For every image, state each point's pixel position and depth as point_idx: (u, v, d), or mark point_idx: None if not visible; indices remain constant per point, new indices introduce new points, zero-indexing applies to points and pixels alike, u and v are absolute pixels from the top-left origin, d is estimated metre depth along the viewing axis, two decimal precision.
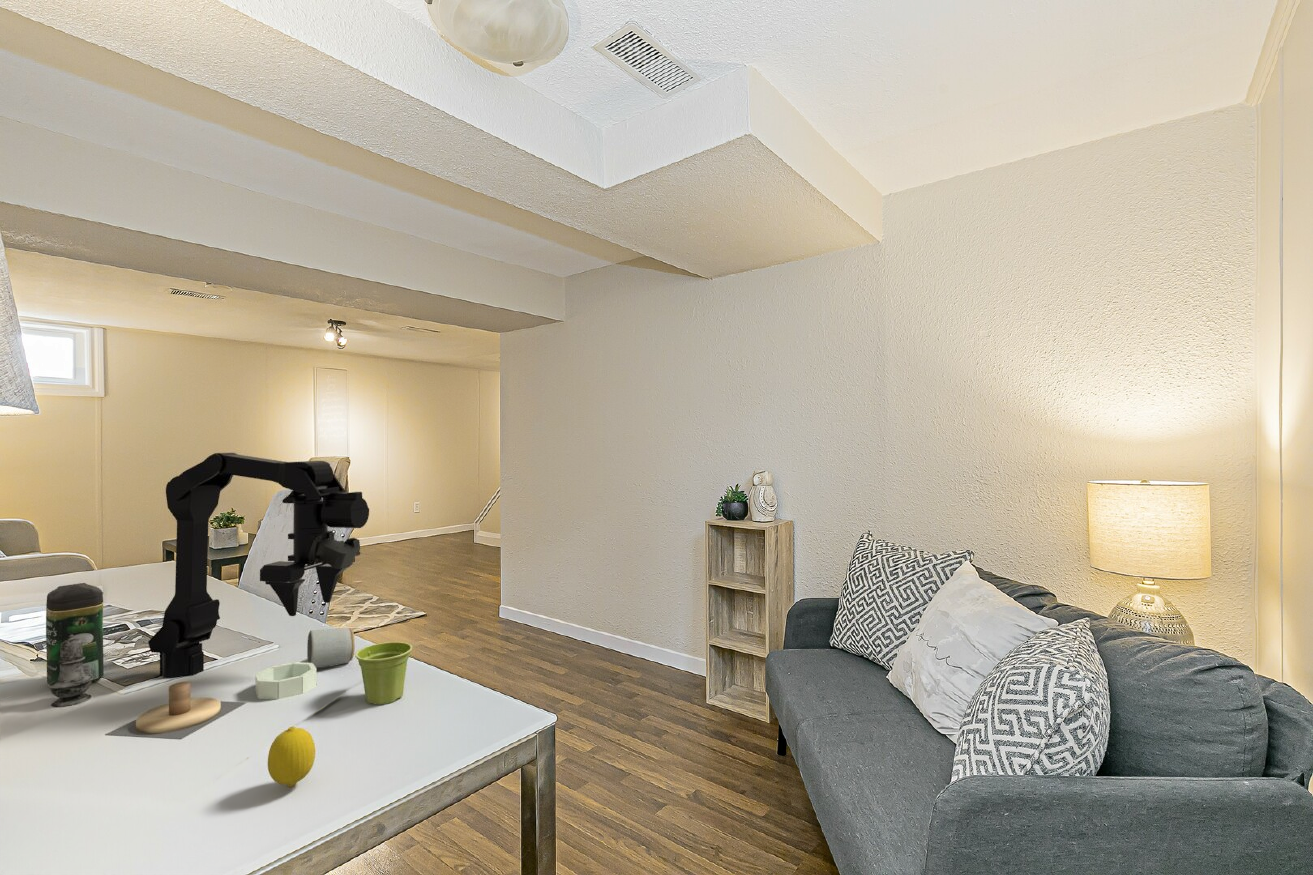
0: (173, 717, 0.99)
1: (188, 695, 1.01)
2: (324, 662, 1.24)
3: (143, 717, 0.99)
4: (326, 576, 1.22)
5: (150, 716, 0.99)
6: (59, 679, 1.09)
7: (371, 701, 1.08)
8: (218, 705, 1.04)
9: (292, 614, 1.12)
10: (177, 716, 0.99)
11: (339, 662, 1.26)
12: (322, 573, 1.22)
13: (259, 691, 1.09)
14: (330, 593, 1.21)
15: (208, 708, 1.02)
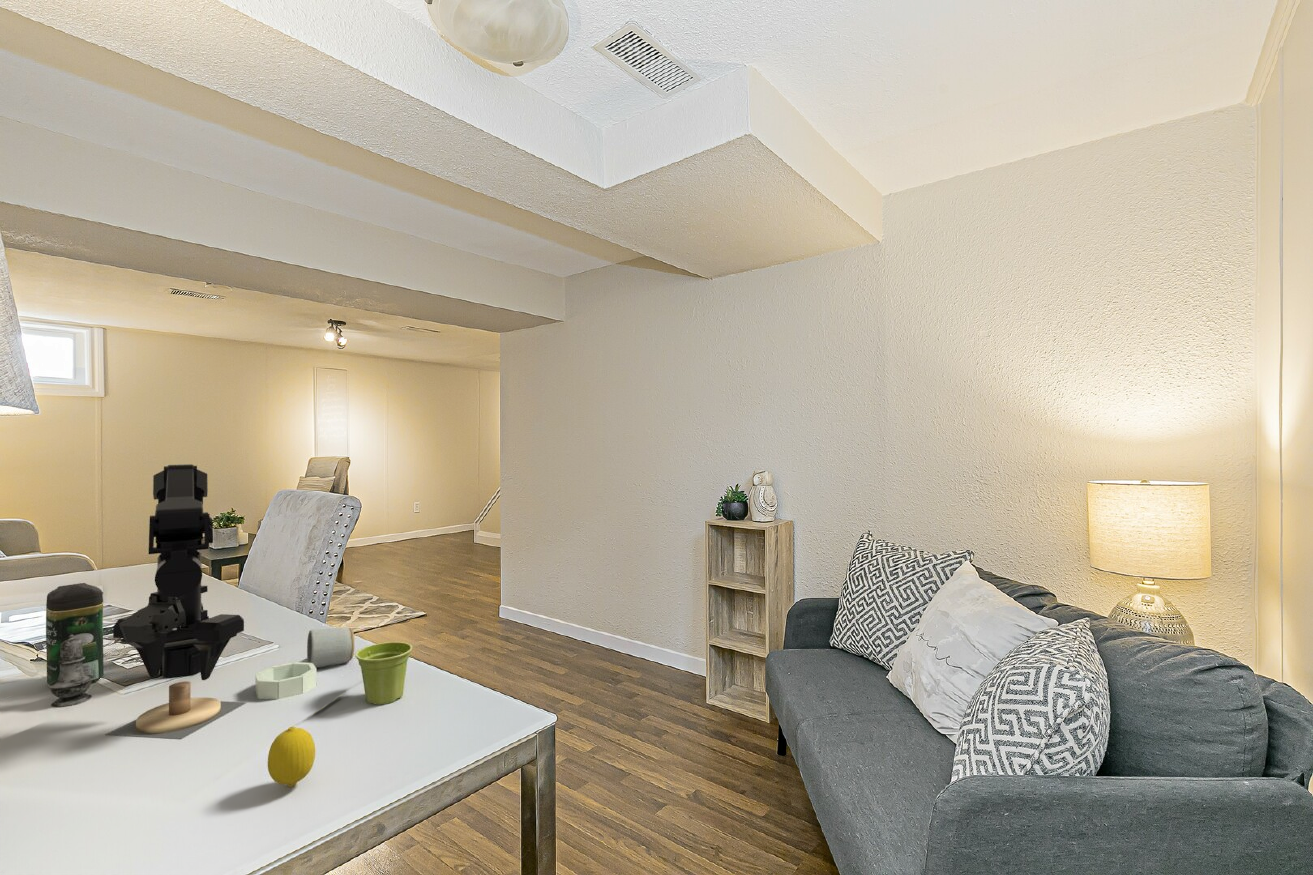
0: (173, 717, 0.99)
1: (188, 695, 1.01)
2: (324, 661, 1.24)
3: (143, 717, 0.99)
4: None
5: (150, 716, 0.99)
6: (59, 679, 1.09)
7: (371, 700, 1.08)
8: (218, 705, 1.04)
9: None
10: (177, 716, 0.99)
11: (339, 661, 1.27)
12: None
13: (259, 691, 1.09)
14: (200, 669, 1.00)
15: (208, 708, 1.02)
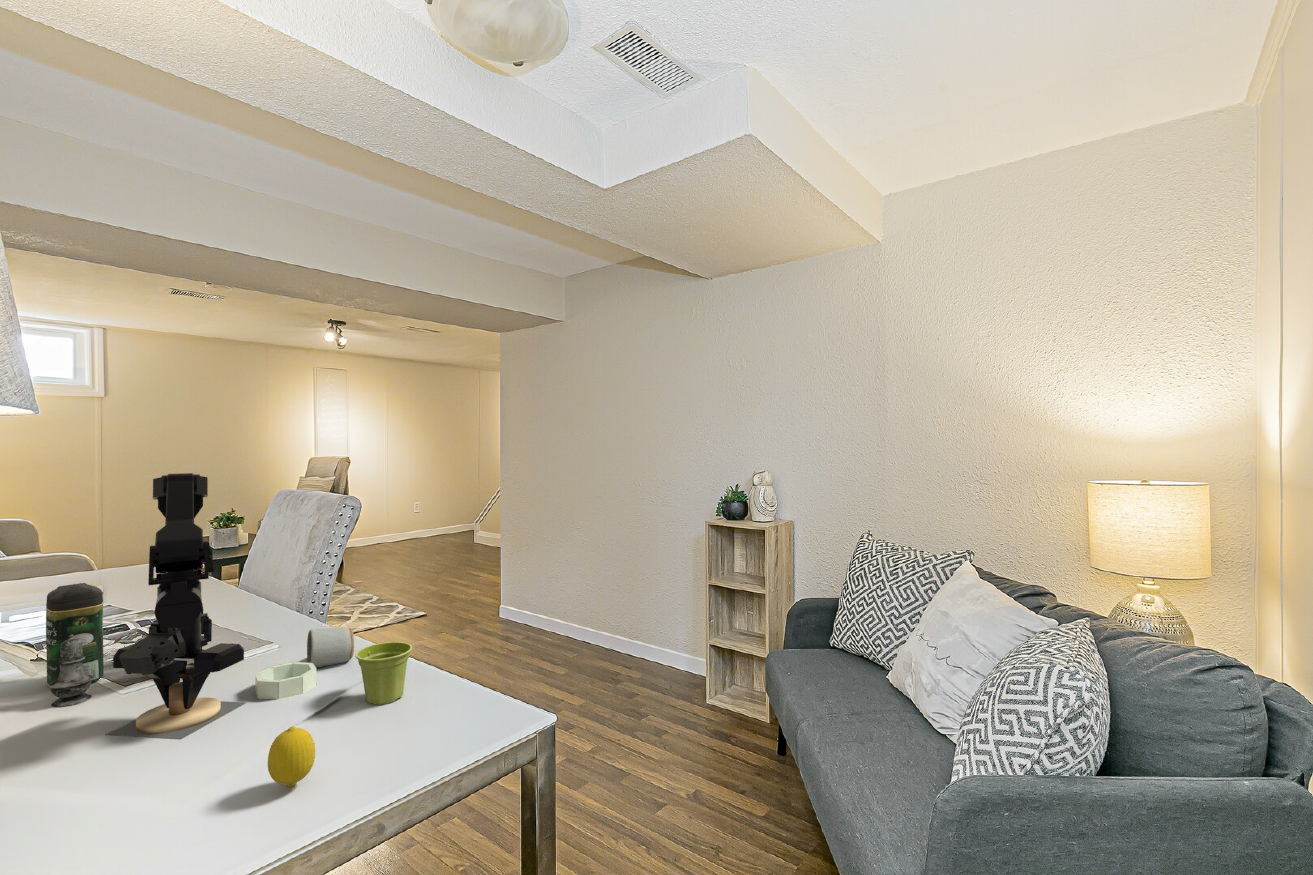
0: (173, 717, 0.99)
1: None
2: (324, 661, 1.25)
3: (143, 717, 0.99)
4: None
5: (150, 716, 0.99)
6: (59, 679, 1.09)
7: (371, 700, 1.08)
8: (218, 705, 1.04)
9: None
10: (177, 716, 0.99)
11: (339, 661, 1.27)
12: None
13: (259, 691, 1.09)
14: (183, 698, 1.00)
15: (208, 708, 1.02)
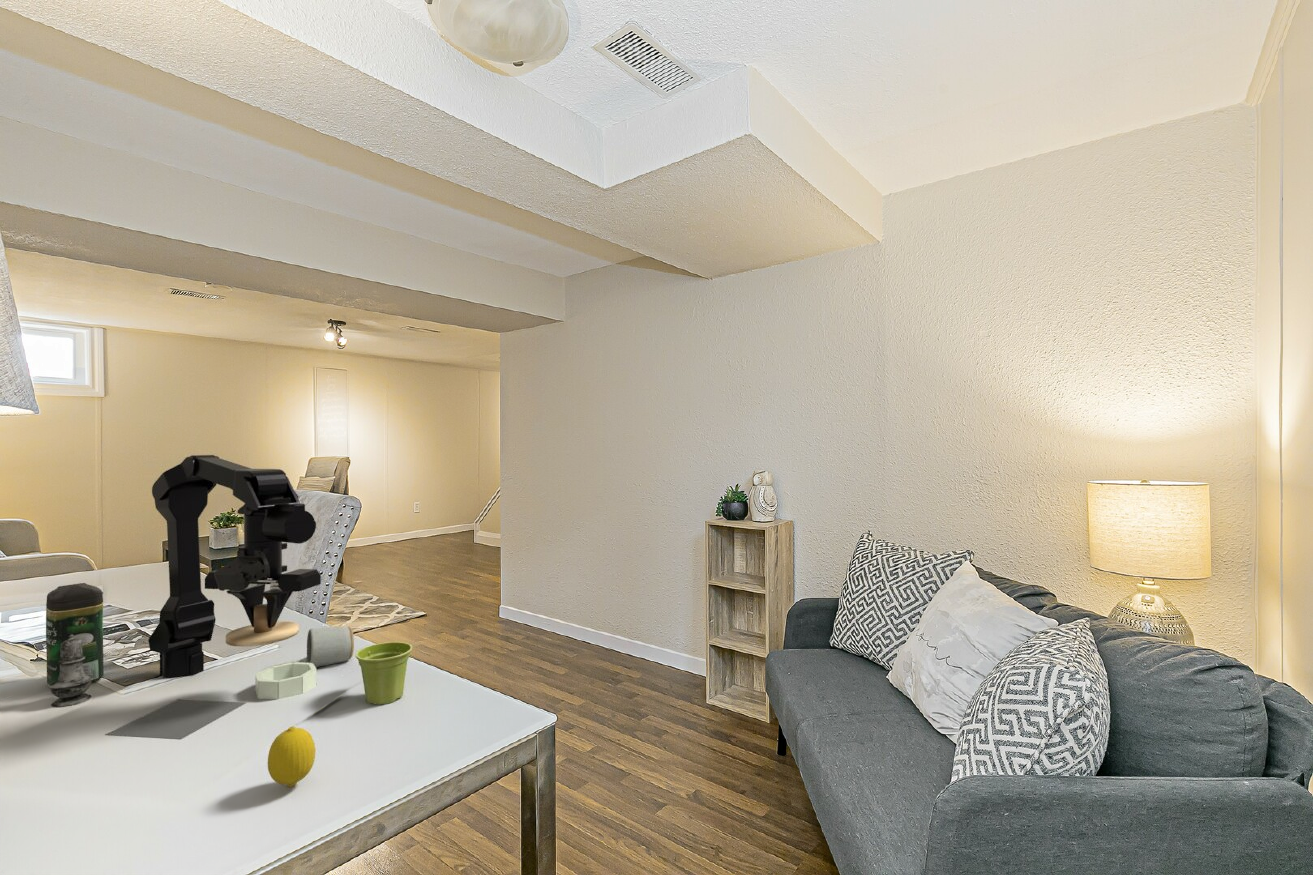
0: (258, 634, 1.08)
1: None
2: (324, 660, 1.25)
3: (231, 634, 1.08)
4: None
5: (238, 633, 1.08)
6: (59, 679, 1.09)
7: (371, 700, 1.08)
8: (297, 626, 1.12)
9: None
10: (262, 633, 1.08)
11: (338, 660, 1.27)
12: None
13: (259, 691, 1.09)
14: (267, 617, 1.09)
15: (288, 628, 1.11)
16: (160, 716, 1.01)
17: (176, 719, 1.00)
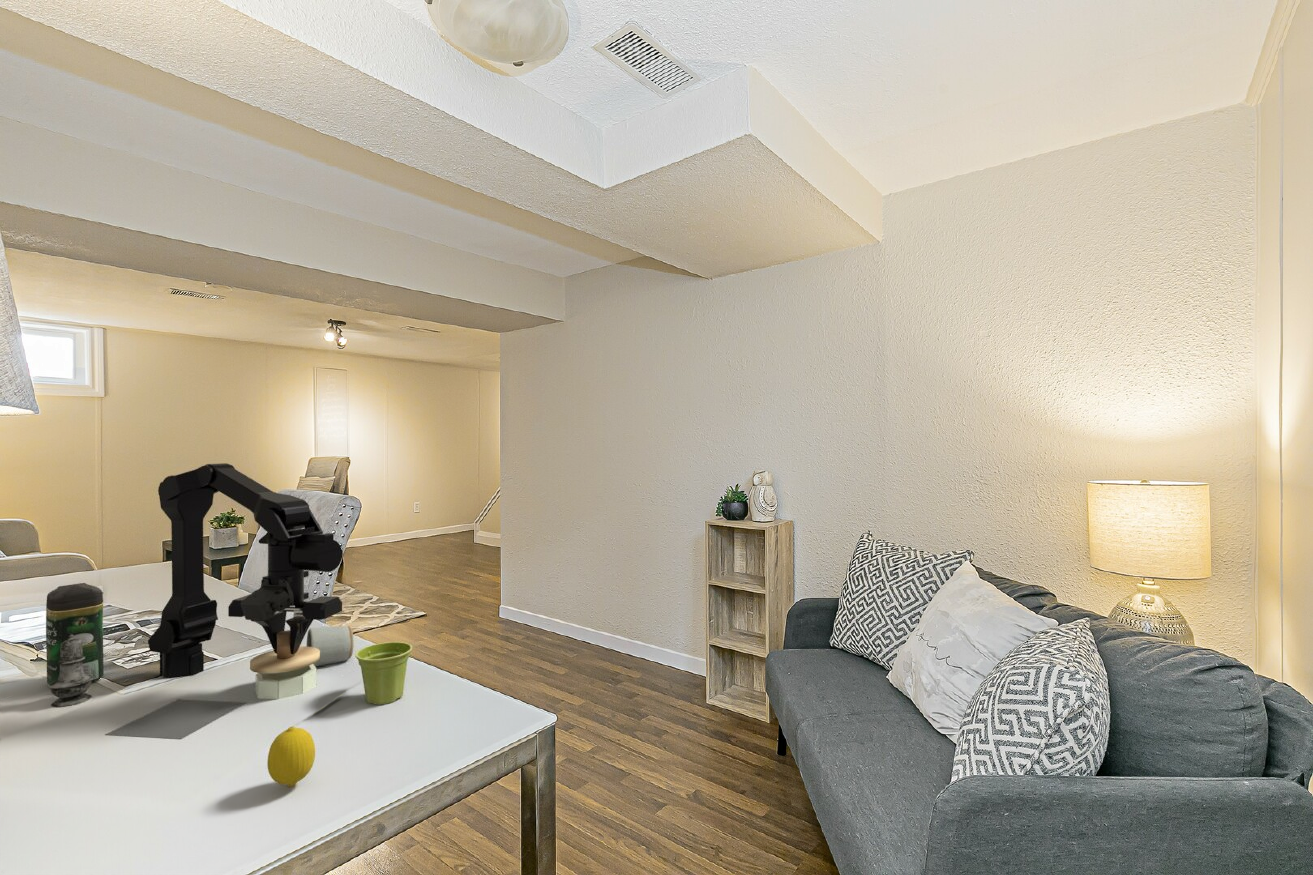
0: (282, 660, 1.11)
1: None
2: (324, 660, 1.25)
3: (255, 660, 1.11)
4: None
5: (261, 660, 1.11)
6: (59, 679, 1.09)
7: (371, 701, 1.08)
8: (318, 652, 1.15)
9: None
10: (285, 660, 1.11)
11: (338, 660, 1.28)
12: None
13: (259, 691, 1.09)
14: (290, 644, 1.12)
15: (310, 654, 1.14)
16: (160, 716, 1.01)
17: (176, 719, 1.00)
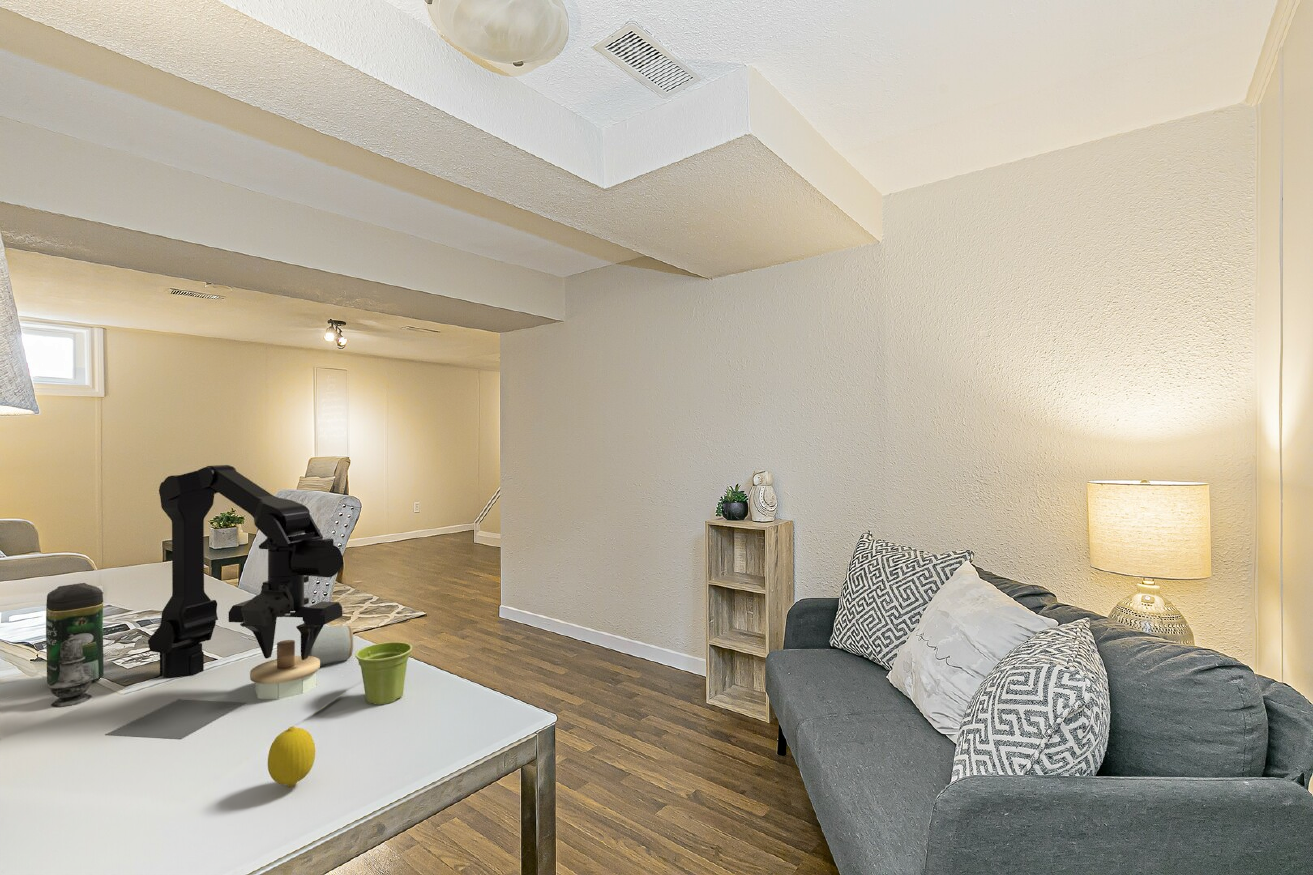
0: (282, 670, 1.11)
1: (293, 651, 1.13)
2: (323, 659, 1.26)
3: (255, 670, 1.11)
4: None
5: (261, 670, 1.11)
6: (59, 679, 1.09)
7: (371, 701, 1.08)
8: (318, 661, 1.15)
9: None
10: (285, 669, 1.11)
11: (338, 659, 1.28)
12: None
13: (259, 691, 1.09)
14: None
15: (310, 664, 1.14)
16: (160, 716, 1.01)
17: (176, 719, 1.00)
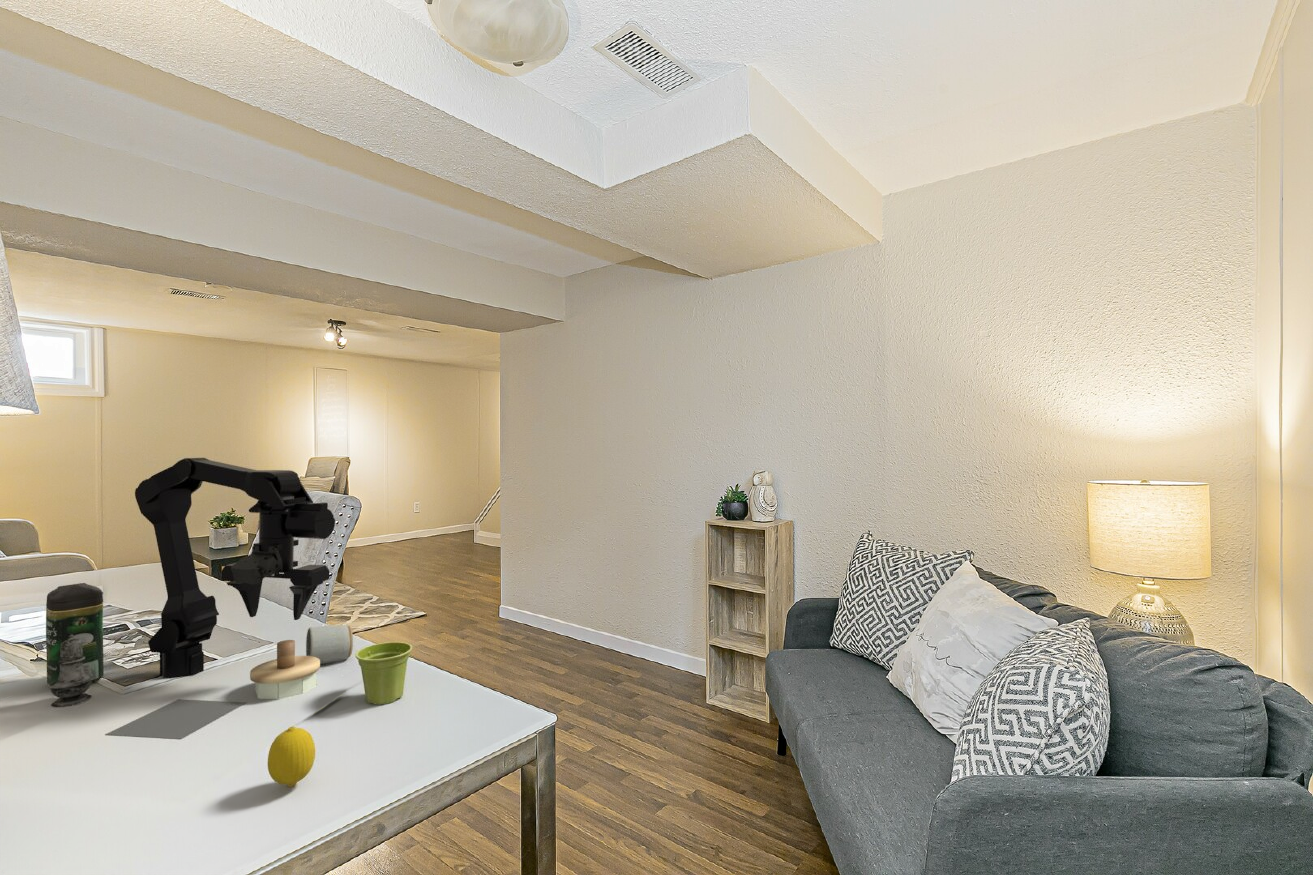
0: (282, 670, 1.11)
1: (293, 651, 1.13)
2: (323, 659, 1.26)
3: (255, 670, 1.11)
4: None
5: (261, 670, 1.11)
6: (59, 679, 1.09)
7: (371, 701, 1.08)
8: (318, 661, 1.15)
9: None
10: (285, 669, 1.11)
11: (337, 659, 1.28)
12: None
13: (259, 691, 1.09)
14: (293, 610, 1.16)
15: (310, 664, 1.14)
16: (160, 716, 1.01)
17: (176, 719, 1.00)
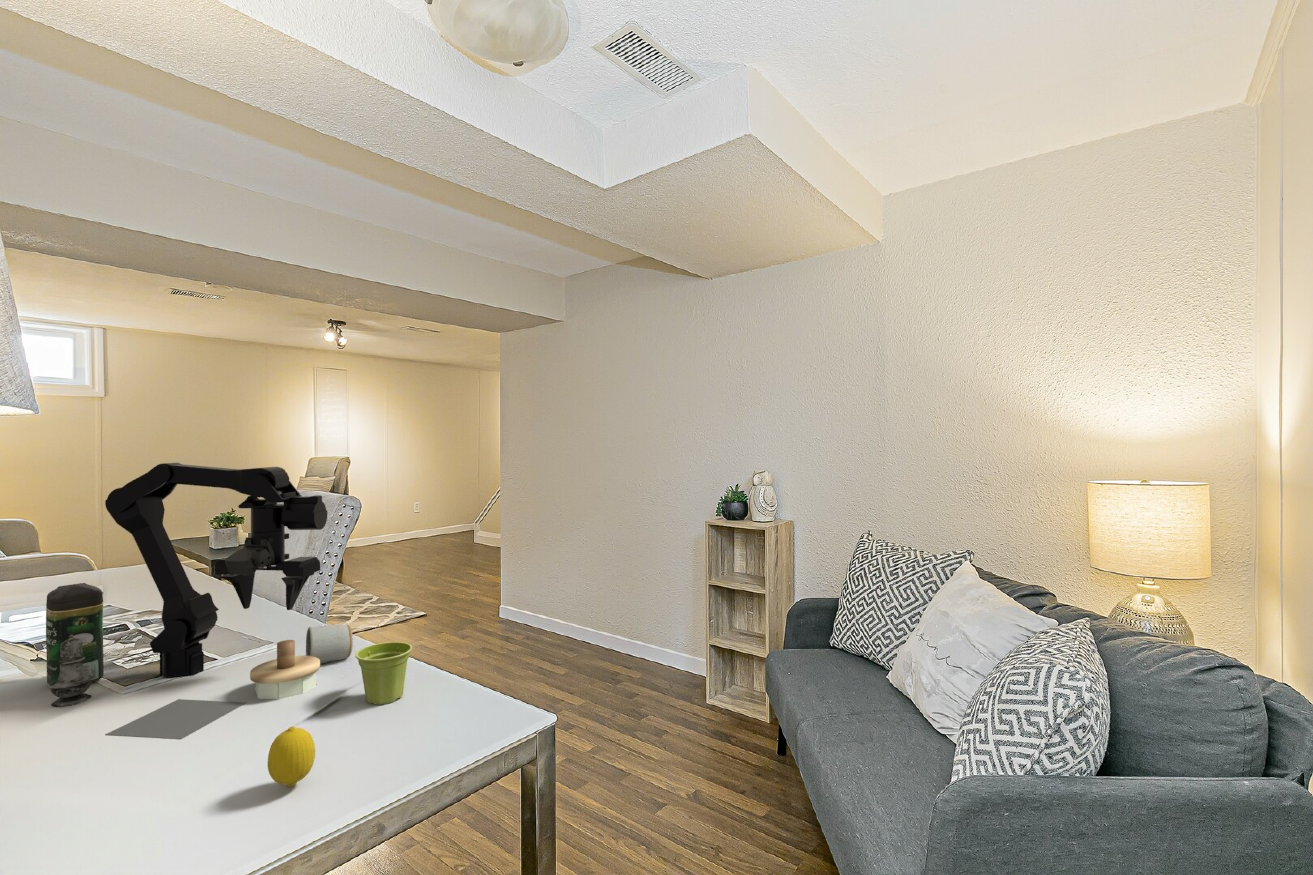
0: (282, 670, 1.11)
1: (293, 651, 1.13)
2: (323, 658, 1.26)
3: (255, 670, 1.11)
4: None
5: (261, 670, 1.11)
6: (59, 679, 1.09)
7: (371, 701, 1.08)
8: (318, 661, 1.15)
9: None
10: (285, 669, 1.11)
11: (337, 658, 1.29)
12: None
13: (259, 691, 1.09)
14: (286, 600, 1.21)
15: (310, 664, 1.14)
16: (160, 716, 1.01)
17: (176, 719, 1.00)
